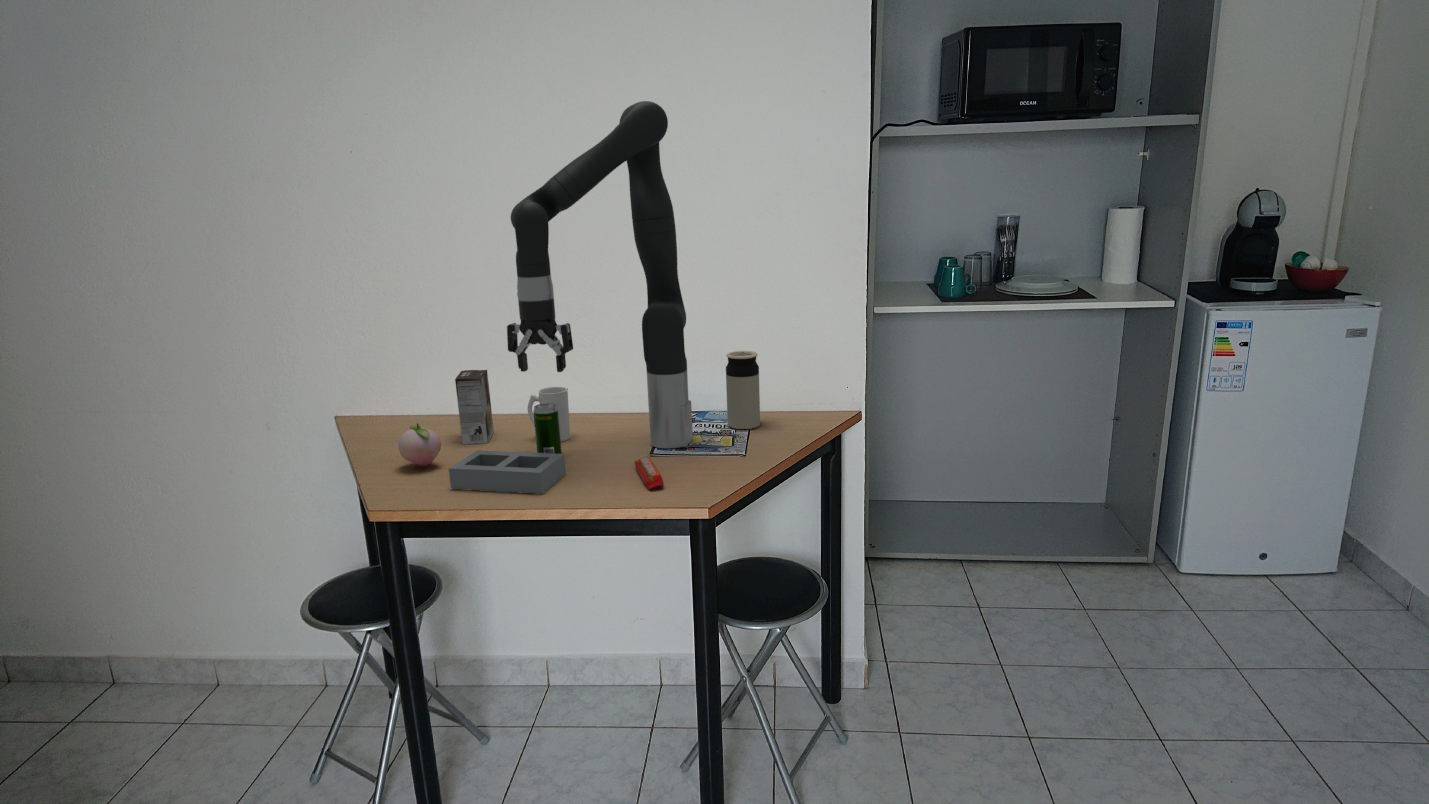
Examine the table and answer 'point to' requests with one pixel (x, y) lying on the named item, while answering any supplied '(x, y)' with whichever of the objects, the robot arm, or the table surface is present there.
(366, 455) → the table surface
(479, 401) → the coffee box
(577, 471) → the table surface
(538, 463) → the drink caddy
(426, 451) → the decorative fruit
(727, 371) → the travel mug
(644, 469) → the candy bar
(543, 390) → the mug
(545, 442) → the beer can
